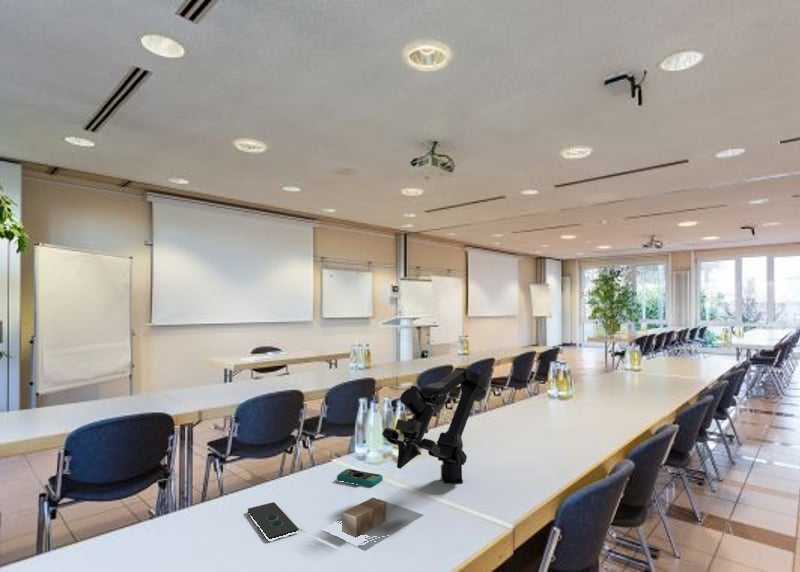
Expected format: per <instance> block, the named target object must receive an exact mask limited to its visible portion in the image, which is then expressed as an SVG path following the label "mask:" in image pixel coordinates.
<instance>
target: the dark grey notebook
mask: <svg viewBox="0 0 800 572" xmlns="http://www.w3.org/2000/svg"><path fill="white" fill-rule="evenodd" d="M248 512H249V513H250V515H251V516H252V517H253V519H254V520H255V521H256V522H257V524H258V525H259V526H260V528H261V529H262V530H263V532H264V533H265V534H266V536H267V537H268V538H269V539H272V538H276V537H279V536H283V535H286V534H288V533H292V532H296V531H298V532H299V528H298V526H297V525H296V524H295V523H294V522H293V521H292V520H291V519H290V518H289V516H288V515H287V513H285V512H284V511H283V510H282V509H281V508H280V507H279V505H278V504H277V503H276V502H273V501H272V502H269V503H263V504H260V505H257V506H252V507H248V508H247V513H248Z"/></svg>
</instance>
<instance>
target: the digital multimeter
mask: <svg viewBox="0 0 800 572" xmlns="http://www.w3.org/2000/svg"><path fill="white" fill-rule="evenodd" d="M383 477H384V476H383V475H382V474H379V473H373V472H367V471H362V470H358V469H352V468H346V469H344V470H343V471H342V470H341V472H340V473H338V474H337V475H336V481H337V480H338V481H344V482H349V483H354V484H358V485H362V486H364V487H368V488H373V487H375V486H377V485H378V484H380V483H381V482H382V481H383Z"/></svg>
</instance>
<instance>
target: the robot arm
mask: <svg viewBox="0 0 800 572" xmlns="http://www.w3.org/2000/svg"><path fill="white" fill-rule="evenodd" d="M486 381H487V380H486V379H485V377H484V376H483V375H481V374H479V373H476V372H474V371H473V370H471V369H468V367H459V366H458V367H456V368H455V369H454V370H453V371H452V372H450V373H449V374H448V375H446V376H444V378H441V380H439V381H437V382H434V383H432V382H431V383H429V384H427V385H424V386H422V388H421V389H419V388H418V386H417V385H411V386H410V388H408V389H406V390H404V392H402V393H401V394H400V398H399V400H400V402H401V404H402V405H403V406H404V407H405V408H406V409H407V410H408V411H409V413H411V414H412V417H411V418H407V420H404V419H400V418H398V419H397V421H396V424H395V426H394V428H390V427H385V428H384V430H383V431H382V434H381V435H382V437H383V438H385V439H386V441H387V442H388V443H390V444H392V445H395V446H397V447H398V448H397V449H398V452H397V462H396V468H397V469H399V470H401V469H402V468H404V466H406V465H407V464H408V463H409V462H410V461H412V460H413V459H415V458H416V457H418V456H421V455H422V450H426V451H427V453H428V455H429V456H430V457H433V458H437V461H440V462H442V464H440V479H441V480H442V481H444V482H443V483H444V484H463V483H464V480H463V466H464V465H465V463H466V462H467V459H468V456H467V454H466V453H465V452H464V450H463V447H464V443H463V439H462V435H463V432H464V430H465V427H466V424H467V421H468V419H469V416H470V413H471V411H472V408H473V405H474V403H475V400H476V399H477V398H479V397H480V396H481V395H482V393H483V391H484V390H485V388H486V384H487V382H486ZM459 385H460V386H459ZM458 386H459V388H460V390H461V395H460V398H459V400H458V403H457V406H456V409H455V411H454V413H453V417H452V418H451V422H450V425H449V427H448V430H447V431H446V432H440V433H439V436H438V439H437V441H435V440H432V439H428V438H424V437H425V434H428V433H429V429H428V427H429V425H430V422H431V420H432V418H434V417H435V418H437V417H438V413H437V409H436V408H435V407H432V406H437V407H438V406H439V407H440V406H441V405H442V404H443V403H445V401H446V400H447V398H448V394H449V393H450V392H452V391H453V390H454V389H455V388H458ZM399 431H400V433H399ZM401 434H402V435H401ZM466 464H467V463H466Z"/></svg>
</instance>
